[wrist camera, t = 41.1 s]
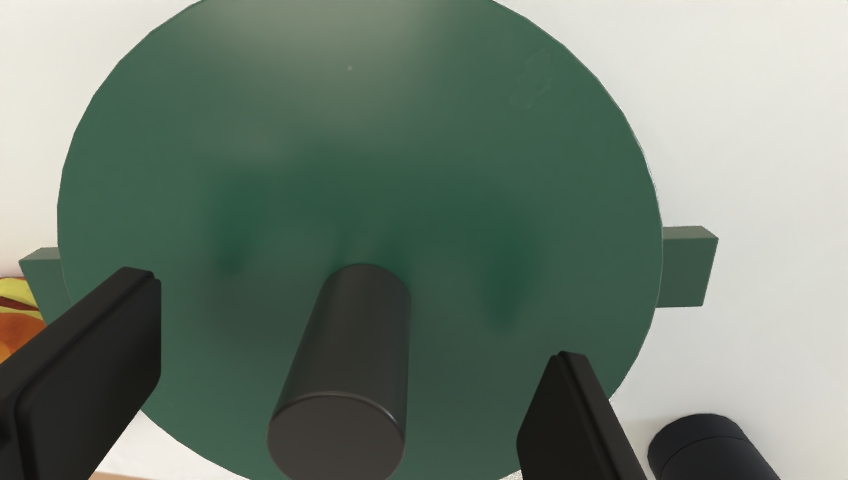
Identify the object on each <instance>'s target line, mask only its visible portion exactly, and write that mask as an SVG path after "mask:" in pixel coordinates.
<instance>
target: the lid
mask: <svg viewBox="0 0 848 480" xmlns="http://www.w3.org/2000/svg"><path fill="white" fill-rule="evenodd" d="M57 232H58V248H59V254H60V260H61V266H62V272H63V278H64V282H65V285H66V288H67V291H68V294H69V297H70V301H71V304H72V306H74V305H75V304H76V303H77V302H79V301H80V300H81V299H82V298H84V297H85V296H86V295H87V294H89V293H90V292H91V291H92V290H94V289H95V288H96V287H97V286H99V285H100V284H101V283H102V282H104V281H105V280H106V279H107V278H109V277H110V276H111V275H112V274H114V273H115V272H116V271H117V270H119V269H120V268H122V267H124V266H127V267H132V268H137V269H142V270H148V271H151V272H153V274H154V277H155V279H159V280H160V281H161V375H160V379H159V382H158V384H157V386H156V388H155V389H154V391H153V392H152V393H151V395H150V396H149V398H148V399H147V400H146V402H145V403H144V404H143V406H142V407H141V408H140V410H141V411H142V412H144V413H145V414H146V415H147V416H148V417H149V418H150V419H151V420H152V421H153V422H154V423H155V424H157V425H158V426H159V427H160V428H162V429H163V430H164V431H166V432H167V433H168V434H169V435H171V436H172V437H173V438H174V439H176V440H177V441H178V442H180V443H182V444H183V445H185V446H186V447H188V448H189V449H191V450H193V451H194V452H196V453H197V454H199V455H200V456H202V457H203V458H205V459H207V460H209V461H211V462H213V463H215V464H217V465H219V466H221V467H223V468H225V469H227V470H229V471H231V472H233V473H235V474H237V475H240V476H243V477H245V478H248V479H250V480H499V479H502V478H504V477H506V476H508V475H510V474H512V473H514V472H516V471H518V470H520V469H521V468H520V463H519V459H518V454H517V449H516V439H517V435H518V432H519V430H520V427H521V425H522V422H523V420H524V418H525V415H526V413H527V411H528V408H529V406H530V403H531V401H532V399H533V396H534V394H535V392H536V389H537V387H538V385H539V382H540V380H541V377H542V375H543V373H544V370H545V368H546V366H547V363H548V361H549V359H550V357H551V356H552V355H557V354H558V353H559V352H560V351H568V352H573V353H578V354H583V355H585V356H586V357H587V358H588V360H589V362H590V364H591V366H592V368H593V370H594V372H595V374H596V376H597V378H598V380H599V383H600V385H601V387H602V389H603V391H604V393H605V395H606V397H607V399H608V400H609V398H610V397H611V396H612V395H613V393H614V392H615V391H616V390H617V388H618V387H619V386H620V385H621V383H622V381H623V380H624V378H625V376H626V375H627V373H628V371H629V370H630V368H631V367H632V365H633V363H634V362H635V360H636V358H637V356H638V354H639V352H640V349H641V347H642V345H643V343H644V340H645V338H646V336H647V333H648V331H649V329H650V326H651V322H652V319H653V315H654V312H655V308H656V304H657V301H658V297H659V291H660V283H661V275H662V267H663V230H662V220H661V214H660V209H659V203H658V197H657V192H656V187H655V184H654V181H653V178H652V175H651V172H650V169H649V166H648V164H647V161H646V158H645V155H644V152H643V149H642V147H641V146H640V144H639V142H638V140H637V138H636V136H635V134H634V132H633V130H632V129H631V127H630V125H629V123H628V121H627V119H626V117H625V115H624V113H623V112H622V111H621V109H620V108H619V107H618V105H617V104H616V103H615V101H614V100H613V99H612V97H611V96H610V95H609V93H608V92H607V90H606V89H605V88H604V86H603V85H602V84H601V82H600V81H599V80H598V78H597V77H596V76H595V75H594V74H593V73H592V72H591V71H590V70H589V69H588V68H587V67H586V66H585V65H584V64H582V63H581V62H580V61H579V60H578V59H577V58H576V57H575V56H574V55H573V54H572V53H571V52H570V51H569V50H568V49H567V48H566V47H565V46H564V45H563V44H561V43H560V42H559V41H557V40H556V39H555V38H553V37H552V36H550V35H549V34H548V33H546V32H545V31H544V30H542V29H541V28H539V27H538V26H537V25H535V24H534V23H533V22H531V21H530V20H528V19H527V18H526V17H524V16H522V15H520V14H518V13H516V12H514V11H512V10H510V9H508V8H506V7H505V6H503V5H501V4H499V3H497V2H495V1H493V0H201V1H198V2H196V3H194V4H192V5H190V6H188V7H187V8H185V9H184V10H182V11H181V12H179V13H178V14H176V15H175V16H173V17H172V18H170V19H169V20H167V21H166V22H164V23H163V24H161V25H160V26H158V27H157V28H155V29H154V30H152V31H151V32H150V33H149V34H148V35H147V36H146V37H145V38H144V39H142V40H141V41H140V42H139V43H138V44H137V45H136V46H135V47H134V48H133V49H132V50H131V51H130V52H129V53H128V54H126V55H125V56H124V57H123V58H122V59H121V60H120V61H119V62H118V64H117V65H116V66H115V68H114V69H113V70H112V72H111V73H110V74H109V76H108V77H107V78H106V80H105V81H104V82H103V83H102V85H101V86H100V87H99V89H98V90H97V91H96V93H95V94H94V95H93V97H92V99H91V101H90V103H89V105H88V107H87V109H86V111H85V113H84V115H83V117H82V119H81V120H80V122H79V124H78V126H77V128H76V130H75V132H74V135H73V138H72V141H71V145H70V148H69V151H68V154H67V157H66V160H65V163H64V166H63V170H62V177H61V184H60V191H59V197H58V204H57Z"/></svg>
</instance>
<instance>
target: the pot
mask: <svg viewBox="0 0 848 480" xmlns="http://www.w3.org/2000/svg"><path fill="white" fill-rule="evenodd" d="M662 230H663V267H662V275H661V283H660V291H659V297H658V301H657V304H656V308H663V307H695V306H702V305H703V302H704V298H705V293H706V289H707V285H708V281H709V277H710V273H711V269H712V265H713V261H714V256H715V252H716V248H717V244H718V240H719V239H718V237H716V236H715V235H714V234H712V233H711V232H709V231H708V230H707V229H705V228H704V227H702V226H682V227H662ZM19 265H20V267H21V270H22V272H23V274H24V277H25V279H26V281H27V283H28V286H29V288H30V290H31V293H32V295H33V297H34V300H35V302H36V304H37V306H38V309H39V311H40V313H41V316H42V318H43V320H44V323H45V325H46V326H48V325H49V324H51V323H52V322H53V321H55V320H56V319H57V318H59V317H60V316H61V315H62V314H64V313H65V312H66V311H67V310H69V309H70V308H71V307H72V304H71V301H70V297H69V294H68V291H67V288H66V285H65V282H64V278H63V272H62V266H61V260H60V254H59V248H58V247H50V248H40V249H38V250H36V251H35V252H33V253H31V254H30V255H28V256H26V257H24V258H23V259H21V260H19Z"/></svg>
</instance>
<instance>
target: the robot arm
mask: <svg viewBox="0 0 848 480" xmlns="http://www.w3.org/2000/svg"><path fill="white" fill-rule="evenodd" d="M160 375H161V281H160V280H159V279H155V277H154V274H153V272H151V271H148V270H142V269H137V268H132V267H127V266H124V267H122V268H120V269H119V270H117V271H116V272H115V273H114V274H112V275H111V276H110V277H109V278H107V279H106V280H105V281H104V282H102V283H101V284H100V285H99V286H97V287H96V288H95V289H94V290H92V291H91V292H90V293H89V294H87V295H86V296H85V297H84V298H82V299H81V300H80V301H79V302H77V303H76V304H75V305H74V306H72V307H71V308H70V309H69V310H67V311H66V312H65V313H64V314H62V315H61V316H60V317H59V318H57V319H56V320H55V321H53V322H52V323H51V324H49V325H48V326H47V327H46V328H44V329H43V330H42V331H41V332H39V333H38V334H37V335H36V336H34V337H33V338H32V339H31V340H29V341H28V342H27V343H26V344H24V345H23V346H22V347H21V348H19V349H18V350H17V351H16V352H14V353H13V354H12V355H11V356H9V357H8V358H7V359H6V360H4V361H3V362H2V363H1V364H0V480H88V479H89V478H90V476H91V475H92V473H93V472H94V471H95V469H96V468H97V467H98V465H99V464H100V463H101V461H102V460H103V459H104V457H105V456H106V454H107V453H108V452H109V450H110V449H111V448H112V446H113V445H114V444H115V442H116V441H117V440H118V438H119V437H120V435H121V434H122V433H123V431H124V430H125V429H126V427H127V426H128V425H129V423H130V422H131V421H132V419H133V418H134V416H135V415H136V414H137V412H138V411H139V410H140V408H141V407H142V406H143V404H144V403H145V402H146V400H147V399H148V398H149V396H150V395H151V393H152V392H153V391H154V389H155V388H156V386H157V384H158V382H159V379H160ZM516 449H517V454H518V459H519V463H520V468H521V472H522V477H523V480H647V478H646V476H645V474H644V472H643V469H642V467H641V465H640V463H639V461H638V459H637V457H636V455H635V453H634V451H633V449H632V447H631V445H630V443H629V441H628V439H627V437H626V435H625V433H624V431H623V429H622V427H621V425H620V423H619V421H618V419H617V417H616V415H615V413H614V411H613V409H612V407H611V405H610V403H609V401H608V399H607V397H606V395H605V393H604V391H603V389H602V387H601V385H600V383H599V380H598V378H597V376H596V374H595V372H594V370H593V368H592V366H591V364H590V362H589V360H588V358H587V357H586V356H585V355H583V354H578V353H573V352H568V351H560V352H559V353H558V354H557V355H552V356H551V357H550V359H549V361H548V363H547V366H546V368H545V370H544V373H543V375H542V377H541V380H540V382H539V385H538V387H537V389H536V392H535V394H534V396H533V399H532V401H531V403H530V406H529V408H528V411H527V413H526V415H525V418H524V420H523V422H522V425H521V427H520V430H519V432H518V435H517V439H516Z"/></svg>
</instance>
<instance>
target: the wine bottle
mask: <svg viewBox="0 0 848 480" xmlns="http://www.w3.org/2000/svg"><path fill="white" fill-rule="evenodd" d="M647 457H648V461H649V465H650V468H651V470H652V472H653V474H654V476H655V478H656V480H781V479H780V478H779V477H778V476H777V474H776V473H775V472H774V471H773V469H772V468H771V467H770V466H769V464H768V463H767V462H766V461H765V459H764V458H763V457H762V455H761V454H760V453H759V452H758V450H757V449H756V448H755V447H754V445H753V444H752V443H751V442H750V440H749V439H748V438H747V436H746V435H745V434H744V433H743V431H742V430H741V429H740V428H739V426H738V425H737V424H736V423H734V422H733V421H731V420H729V419H728V418H726V417H722V416H718V415H713V414H702V415H693V416H689V417H686V418H682V419H679V420H677V421H676V422H674V423H672V424H670V425H668V426H666V427H665V428H664V429H663V430H662V431H661V432H659V433H658V434H657V435H656V437H655V438H654V440H653V441H652V443H651V444H650V447H649V451H648V456H647Z"/></svg>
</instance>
